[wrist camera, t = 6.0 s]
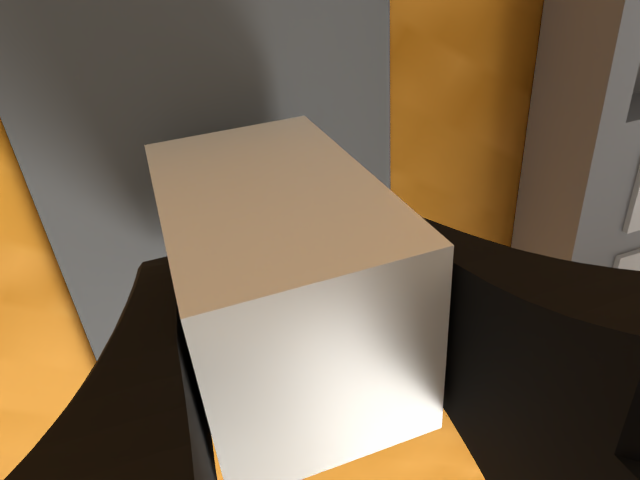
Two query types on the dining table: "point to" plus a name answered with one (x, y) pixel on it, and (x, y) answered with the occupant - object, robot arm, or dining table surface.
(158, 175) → the plug
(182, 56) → the rubber mat
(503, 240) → the dining table surface
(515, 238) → the power strip
